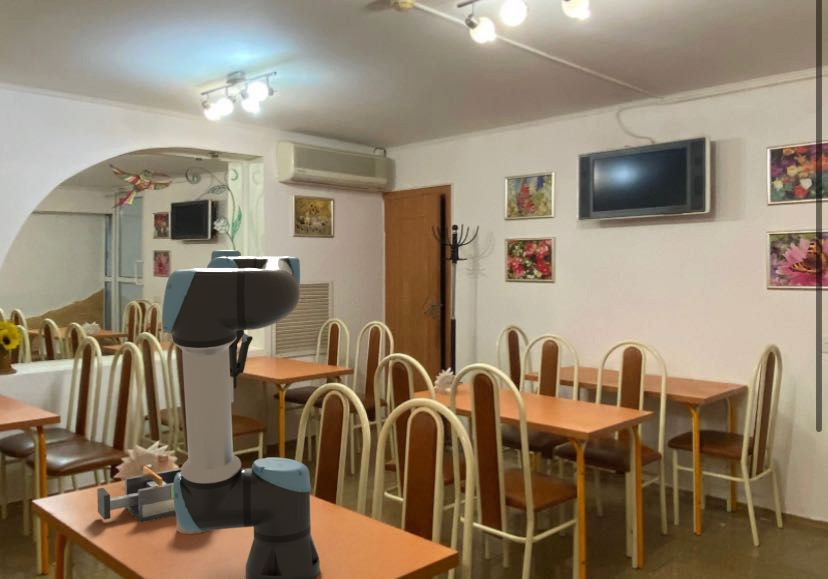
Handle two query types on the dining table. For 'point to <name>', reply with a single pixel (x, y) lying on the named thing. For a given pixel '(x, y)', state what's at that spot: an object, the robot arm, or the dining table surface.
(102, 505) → the grey t-handle block
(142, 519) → the gauge housing
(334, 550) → the dining table surface
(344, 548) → the dining table surface
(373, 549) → the dining table surface
